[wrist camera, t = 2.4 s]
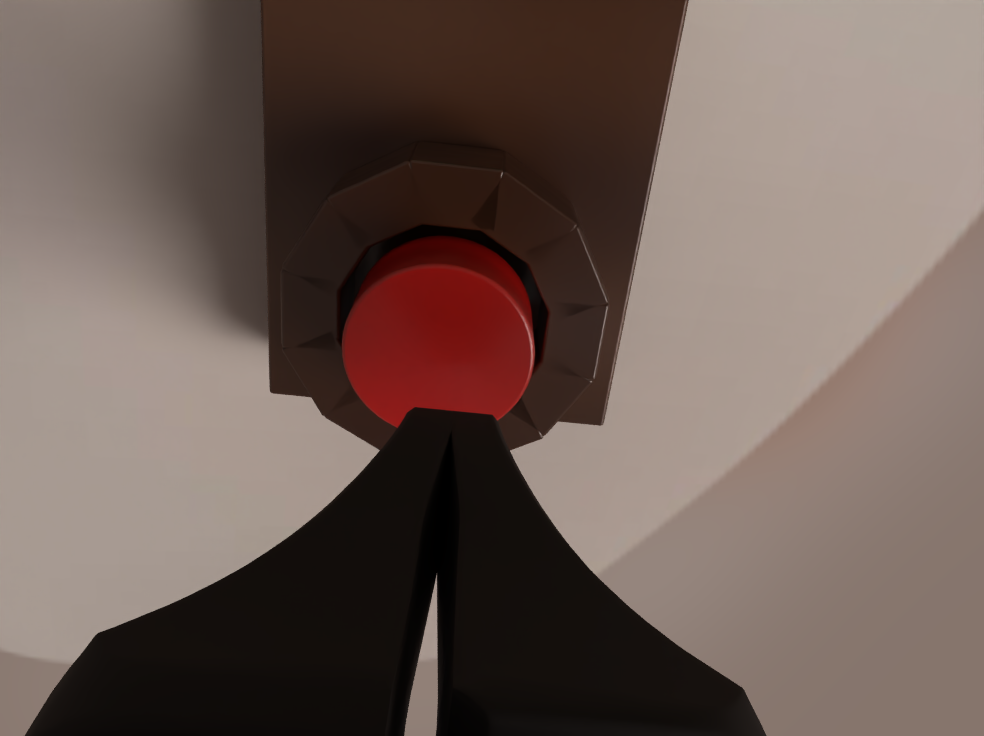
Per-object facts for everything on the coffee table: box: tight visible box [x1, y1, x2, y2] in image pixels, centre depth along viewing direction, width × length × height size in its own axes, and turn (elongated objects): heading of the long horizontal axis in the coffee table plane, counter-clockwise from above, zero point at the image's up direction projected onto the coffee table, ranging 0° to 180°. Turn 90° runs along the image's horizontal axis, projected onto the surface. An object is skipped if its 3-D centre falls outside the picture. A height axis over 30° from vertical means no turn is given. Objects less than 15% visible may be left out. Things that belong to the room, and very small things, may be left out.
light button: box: [342, 236, 535, 428], centre depth 15 cm, size 4×4×2 cm
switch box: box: [261, 0, 689, 450], centre depth 17 cm, size 10×8×4 cm
